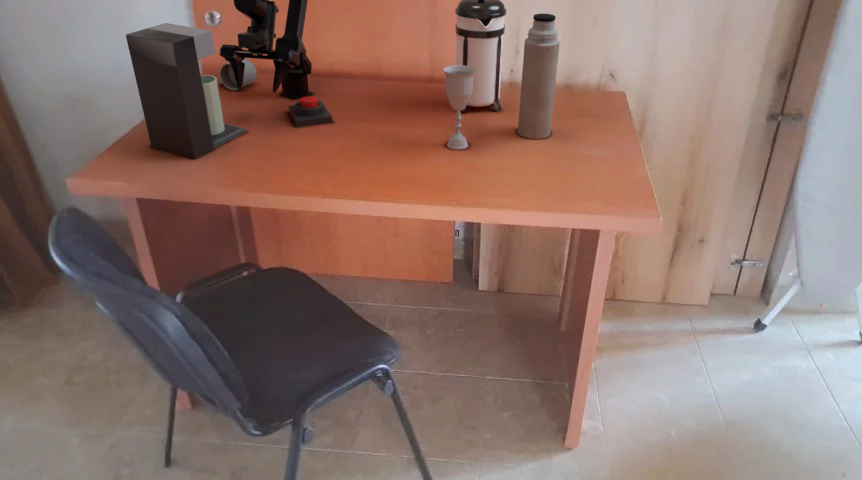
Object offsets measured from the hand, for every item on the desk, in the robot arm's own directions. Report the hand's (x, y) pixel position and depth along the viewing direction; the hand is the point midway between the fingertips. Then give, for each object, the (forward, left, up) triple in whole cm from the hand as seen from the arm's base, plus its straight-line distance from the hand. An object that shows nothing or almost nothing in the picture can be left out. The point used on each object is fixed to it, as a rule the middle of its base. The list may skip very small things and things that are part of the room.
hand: (256, 90), depth 171 cm
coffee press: (-50, +27, -9) cm, 58 cm away
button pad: (-12, +4, -9) cm, 16 cm away
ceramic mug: (-12, -31, -9) cm, 34 cm away
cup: (+12, -4, -8) cm, 15 cm away
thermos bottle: (-45, +51, -9) cm, 69 cm away
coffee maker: (+15, -3, -9) cm, 18 cm away
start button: (-12, +4, -6) cm, 14 cm away
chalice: (-26, +43, -9) cm, 51 cm away
